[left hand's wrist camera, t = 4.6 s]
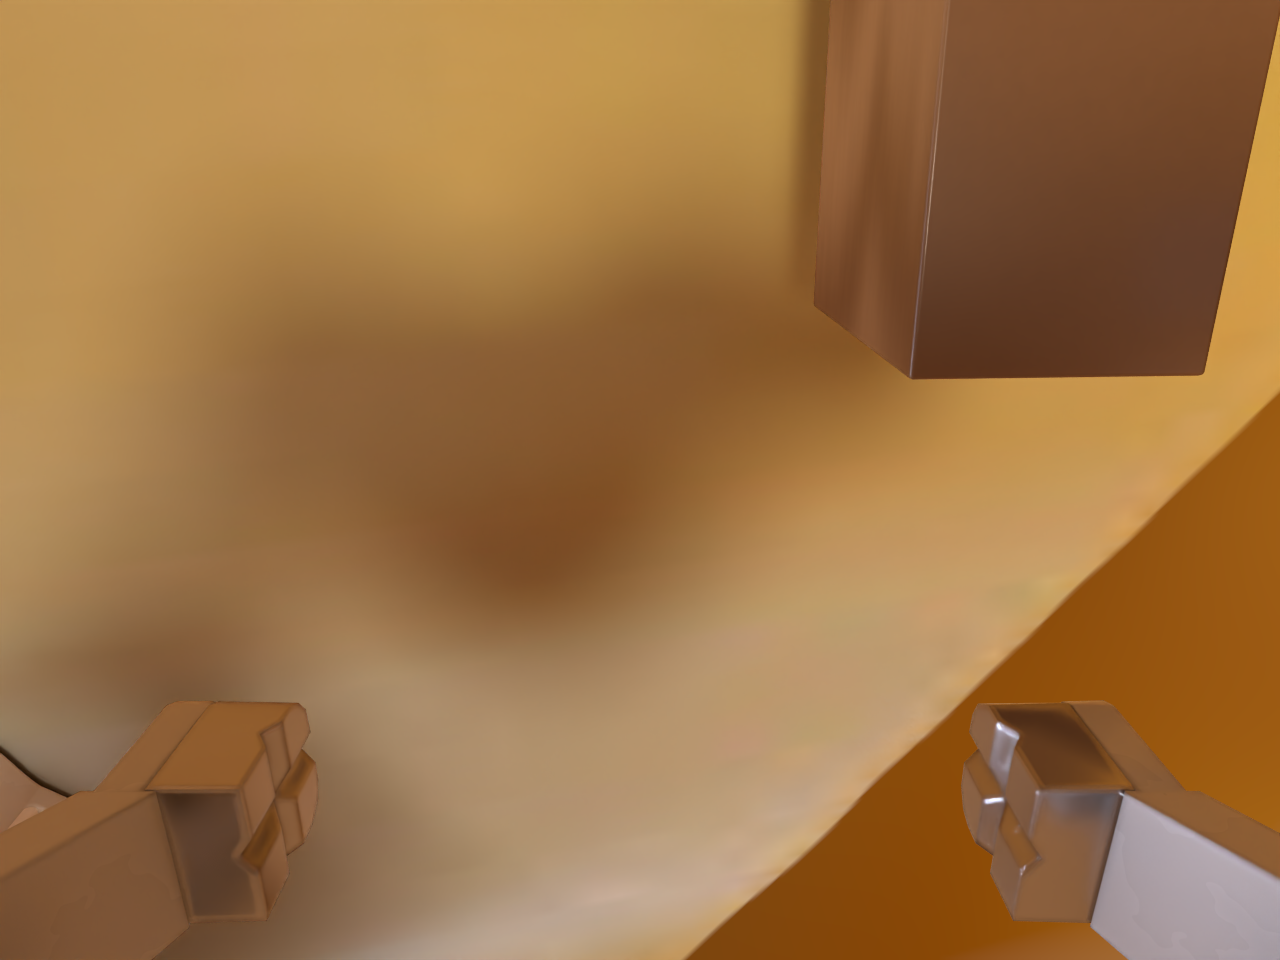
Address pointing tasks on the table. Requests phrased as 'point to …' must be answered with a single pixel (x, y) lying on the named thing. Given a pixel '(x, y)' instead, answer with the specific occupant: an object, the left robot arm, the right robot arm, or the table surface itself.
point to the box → (1036, 180)
